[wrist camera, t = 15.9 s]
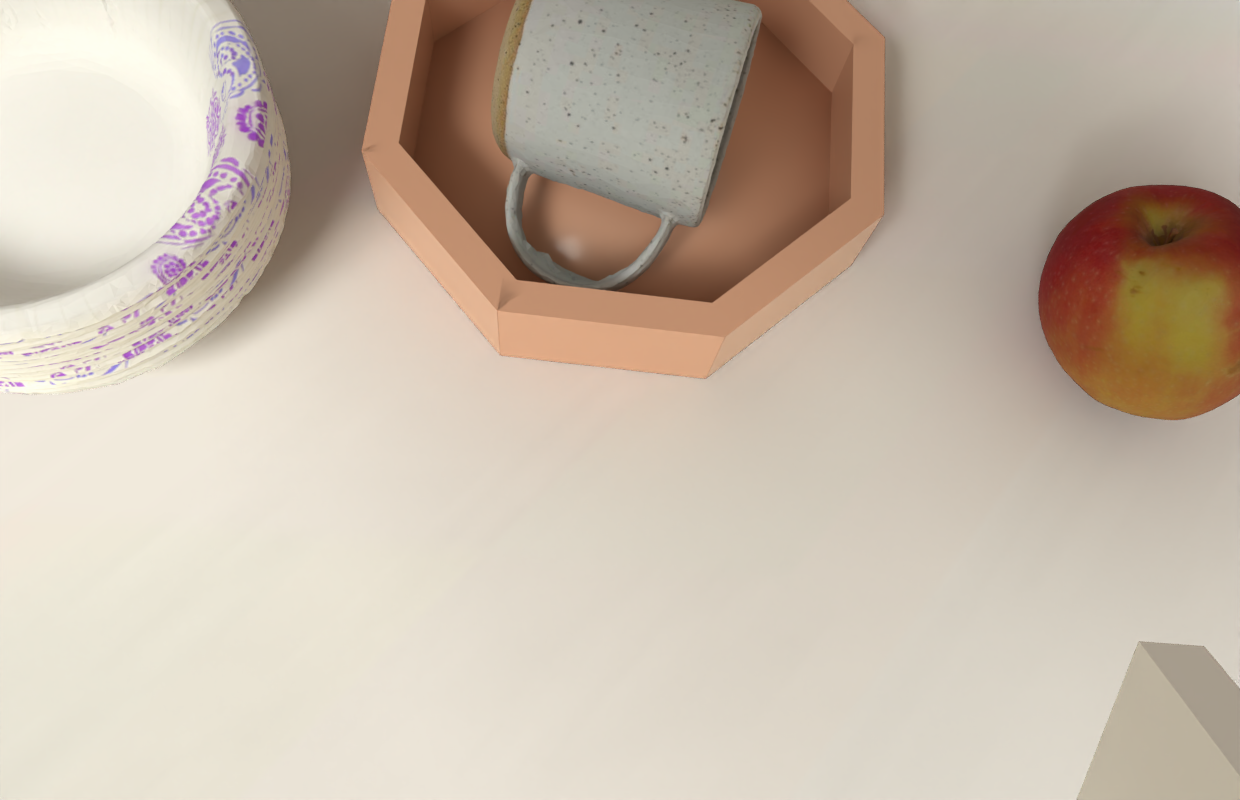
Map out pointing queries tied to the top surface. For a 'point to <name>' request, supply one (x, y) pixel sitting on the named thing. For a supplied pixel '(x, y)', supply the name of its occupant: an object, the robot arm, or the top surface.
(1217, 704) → the robot arm
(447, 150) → the terracotta bowl
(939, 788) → the top surface
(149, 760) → the top surface
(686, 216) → the ceramic mug
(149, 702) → the top surface
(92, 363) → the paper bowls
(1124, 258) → the apple
